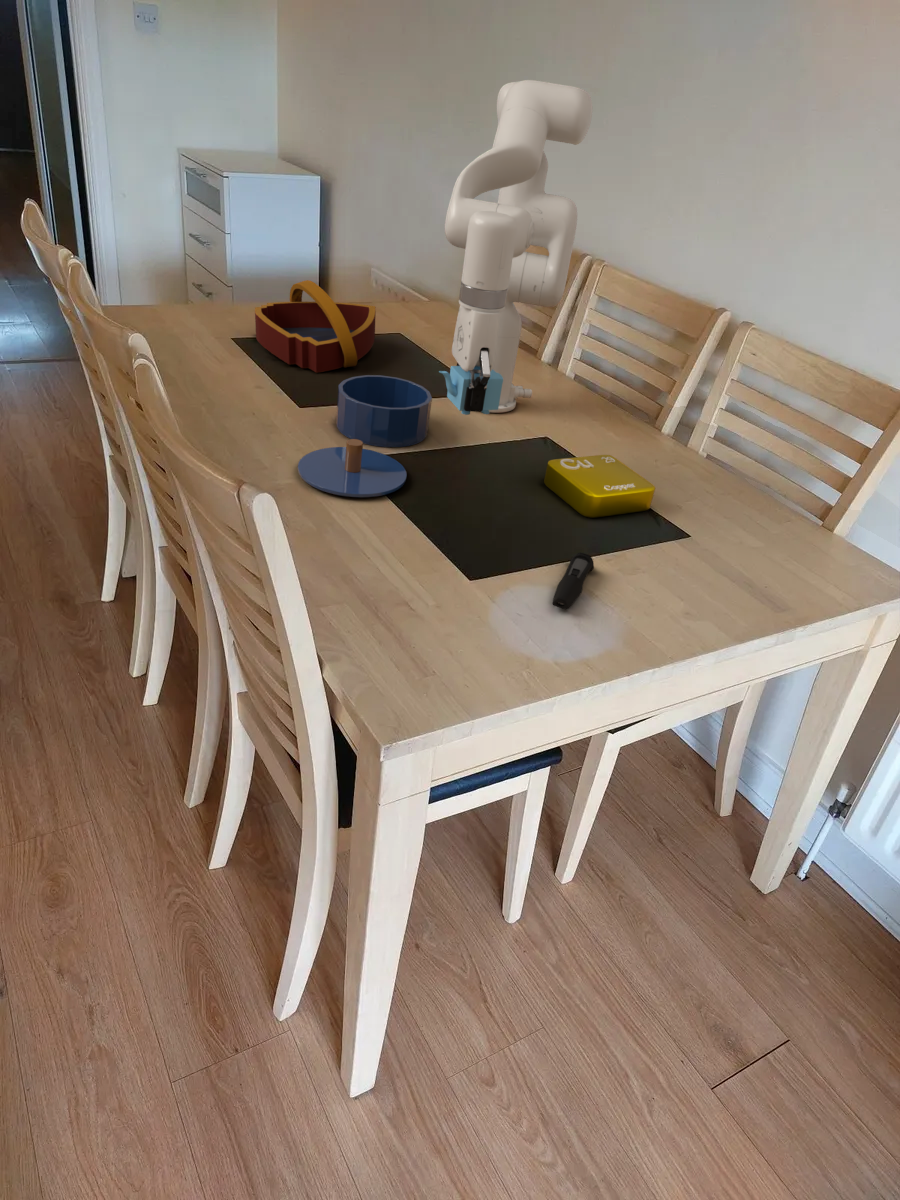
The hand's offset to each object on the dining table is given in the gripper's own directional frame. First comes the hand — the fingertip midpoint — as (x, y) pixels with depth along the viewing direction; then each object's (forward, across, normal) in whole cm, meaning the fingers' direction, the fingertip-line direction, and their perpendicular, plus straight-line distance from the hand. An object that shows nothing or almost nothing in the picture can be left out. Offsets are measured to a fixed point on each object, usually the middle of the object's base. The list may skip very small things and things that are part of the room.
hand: (467, 401), depth 149 cm
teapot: (+1, 0, 0) cm, 1 cm away
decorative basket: (+15, -66, -17) cm, 70 cm away
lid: (+13, +2, -19) cm, 23 cm away
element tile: (+14, +9, +24) cm, 29 cm away
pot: (+14, -19, -10) cm, 26 cm away
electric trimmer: (+13, +39, +8) cm, 42 cm away
